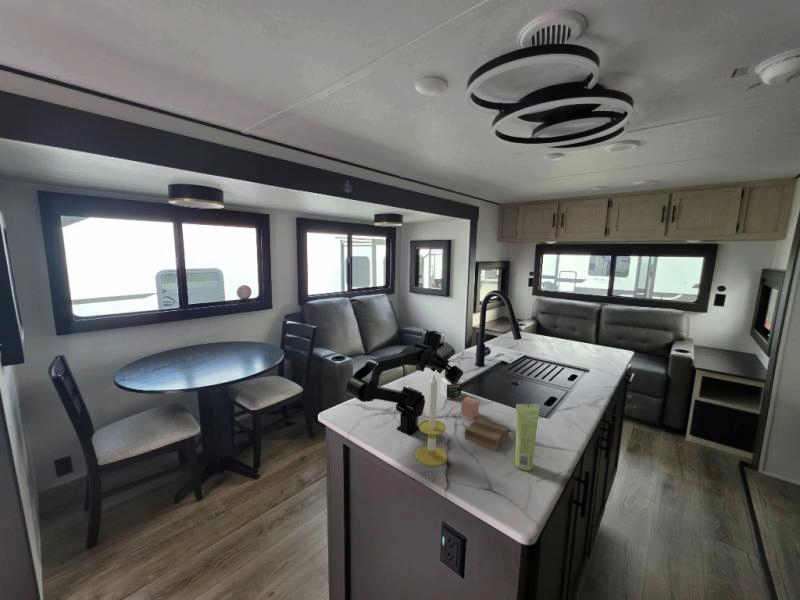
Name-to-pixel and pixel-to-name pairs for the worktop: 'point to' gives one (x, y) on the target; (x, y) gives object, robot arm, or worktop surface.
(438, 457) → the candle
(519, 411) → the tube
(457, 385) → the medicine bottle
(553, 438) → the worktop surface
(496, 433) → the walnut block
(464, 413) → the terracotta block
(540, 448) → the worktop surface
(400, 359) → the robot arm
